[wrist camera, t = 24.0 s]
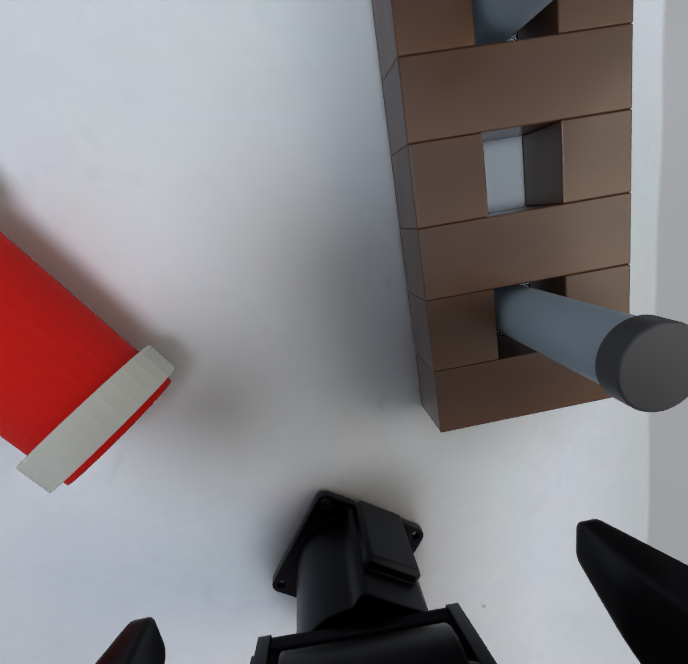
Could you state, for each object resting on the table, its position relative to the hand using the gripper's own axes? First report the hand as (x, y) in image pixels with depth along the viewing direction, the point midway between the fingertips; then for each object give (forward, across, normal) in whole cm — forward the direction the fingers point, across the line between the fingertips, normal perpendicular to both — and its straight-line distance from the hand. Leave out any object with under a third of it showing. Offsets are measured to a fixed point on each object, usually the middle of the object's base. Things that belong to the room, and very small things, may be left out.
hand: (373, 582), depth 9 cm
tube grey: (+13, -9, -1) cm, 16 cm away
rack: (+14, -9, -7) cm, 18 cm away
